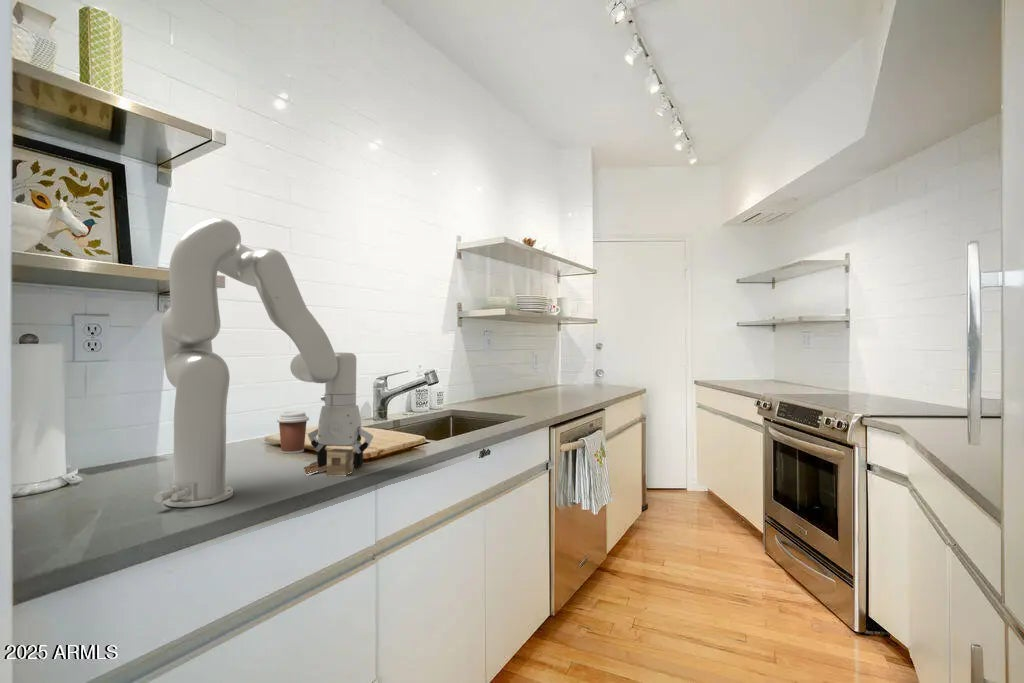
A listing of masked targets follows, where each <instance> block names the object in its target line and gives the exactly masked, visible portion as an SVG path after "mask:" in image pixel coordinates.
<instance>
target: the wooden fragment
mask: <svg viewBox="0 0 1024 683" xmlns="http://www.w3.org/2000/svg"><path fill="white" fill-rule="evenodd" d="M353 463H354V460H353ZM304 469H305V474H309V473H313V472H316V471H318V472H319V473H318V474H320V473H323V472H327V465H325V466H323V467H318V463H317V461H314V462H311V463H310V464H309V465H307V466H304V467H303V470H304ZM310 471H311V472H310ZM308 472H309V473H308Z"/></svg>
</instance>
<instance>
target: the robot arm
mask: <svg viewBox="0 0 1024 683" xmlns="http://www.w3.org/2000/svg"><path fill="white" fill-rule="evenodd" d="M286 259H287V258H286V257H285V256H284V255H283V254H282V253H281V252H280V251H279V250H276V249H274V248H266V247H265V248H260V249H257V250H254V249H252V248H250V247H247V246H245V245H243V244H242V236H241V232H240V230H239V228H238V227H237V225H236V224H234V223H233V222H232V221H230V220H228V219H225V218H219V217H218V218H216V217H215V218H209V219H207V220H204V221H202V222H200V223H197V224H196V225H195V226H192V227H191V228H190V229H189V230H187V232H186V233H185V234H183V235H182V236H181V238H180V239H179V240H178V242H177V244H176V245H175V247H174V249H173V251H172V254H171V258H170V261H169V271H168V275H169V276H168V278H169V295H170V296H169V297H170V307H169V308H168V309H167V310H166V311H165V313H164V314H163V316H162V320H161V340H162V348H163V349H162V350H163V359H164V369H165V373H166V374H165V375H166V378H167V380H168V381H169V383H170V384H171V385H172V386H173V387H174V388H175V398H174V408H173V410H174V411H173V462H172V463H173V468H172V470H173V472H172V473H173V476H172V478H173V479H172V480H173V481H171V482H169V487H168V488H167V489H166V490H162V491H158V492H156V493H155V494H154V496H153V499H154V501H155V502H156V503H158V504H159V503H161V502H163V504H164V505H165V506H168V507H171V508H172V507H173V508H194V507H202V506H209V505H212V504H216V503H217V504H218V503H220V502H222V501H226V500H227V499H230V498H231V497H232V496H233V495H234V489H233V487H231V486H228V485H226V476H227V475H226V469H227V468H226V464H227V463H226V459H227V452H226V451H227V405H228V404H227V403H228V395H229V388H230V379H231V378H230V370H229V366H228V364H227V362H226V361H225V360H224V359H223V357H221V356H220V355H218V354H217V353H215V352H213V344H212V343H213V342H212V341H213V340H214V339H216V337H217V336H218V334H219V333H220V330H221V327H222V326H221V324H222V323H221V318H220V317H221V316H220V311H219V310H220V309H219V307H220V306H219V299H218V286H217V284H218V280H217V279H218V273H221V274H223V275H225V276H226V277H227V276H228V277H229V278H231V279H233V280H236V281H238V282H241V283H243V284H245V285H247V286H251V287H255V289H256V291H257V293H258V295H259V297H260V300H261V302H262V303H263V306H264V309H265V311H266V313H267V315H268V319H270V321H271V322H272V323H273V325H274V326H276V328H278V329H280V330H281V331H282V332H284V333H285V334H286V335H287V336H289V338H290V340H291V341H292V342H293V343H294V345H295V346H296V348H297V349H298V352H299V353H298V354H296V355H295V356H294V357H293V358H292V360H291V361H290V366H289V367H290V368H289V369H290V372H291V374H292V376H293V377H294V378H296V379H298V380H299V381H301V382H305V383H315V384H325V393H324V395H321V397H320V401H323V402H324V405H322V406H321V409H320V414H319V419H318V428H317V429H314V430H313V431H311V432H309V433H308V434H307V437H308V439H309V441H310V444H311V445H312V447H313V448H314V450H315V452H317V454H316V455H317V456H316V457H317V461H316V462H317V463H318V467H323V466H325V465H327V452H328V451H327V449H326V448H327V447H328V446H329V447H352V449H354V450H355V451H356V453H355V454H354V462H353V469H354V470H358V469H360V468H361V467H362V466H363V464H364V452H365V451H366V449H367V448H368V447H369V446H370V445H371V442H372V441H373V438H374V435H373V434H372V433H369V432H368V431H366V430H364V429H363V428H362V420H361V413H360V407H359V405H357V356H356V354H354V353H352V352H335V350H334V348H333V346H332V343H331V341H330V339H329V336H328V335H327V334H326V331H325V330H324V328H323V327H322V325H321V324H320V323H319V322H318V320H317V319H316V317H315V316H314V315H313V314H312V313H311V311H310V310H309V309H308V307H307V305H306V303H305V301H304V298H303V296H302V295H301V294H302V293H301V291H300V289H299V287H298V285H297V283H296V282H297V281H296V279H295V277H294V276H293V272H292V270H291V268H290V265H289V264H288V261H287V260H286ZM362 438H364V439H365V440H364V442H363V443H362V442H361V440H362Z"/></svg>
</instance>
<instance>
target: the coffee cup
mask: <svg viewBox="0 0 1024 683" xmlns="http://www.w3.org/2000/svg"><path fill="white" fill-rule="evenodd" d="M308 421H310V418H309V416H307V414H306V412H305V411H303V410H301V411H300V410H298V411H297V410H296V411H295V410H291V411H283V412H280V415H279V416H278V418H276V423H278V427H279V438H280V453H281V454H284V455H285V454H286V455H293V454H300V453H301V454H302V453H303V452H305V443H306V442H305V441H306V433H307V432H306V431H307V422H308Z"/></svg>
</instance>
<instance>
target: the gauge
mask: <svg viewBox="0 0 1024 683" xmlns="http://www.w3.org/2000/svg"><path fill="white" fill-rule="evenodd" d="M355 453H356V451H355V450H354V449H353V448H350V449H349V448H333V449H330V450H328V451H327V471H326V476H328V475H347V474H348V473H350V472H352V473H353V469H354V462H353V460H354V454H355ZM350 474H351V473H350ZM347 476H348V475H347Z"/></svg>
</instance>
